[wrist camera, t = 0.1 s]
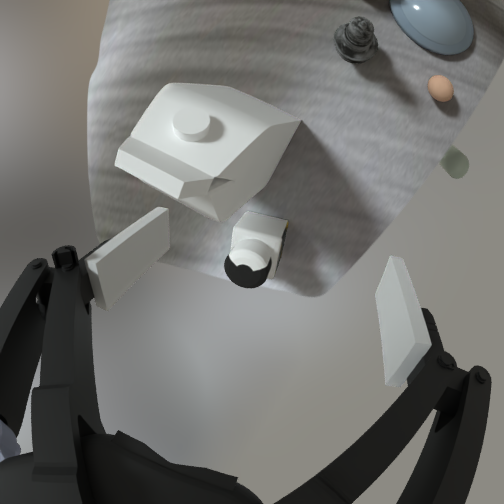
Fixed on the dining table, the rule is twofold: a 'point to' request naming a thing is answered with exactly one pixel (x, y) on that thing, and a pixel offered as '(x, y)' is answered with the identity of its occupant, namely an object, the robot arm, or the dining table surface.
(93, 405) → the robot arm
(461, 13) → the plate
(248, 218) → the medicine bottle
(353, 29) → the stone chess piece
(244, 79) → the dining table surface
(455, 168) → the pale green cup
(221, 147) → the milk
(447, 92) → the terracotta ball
